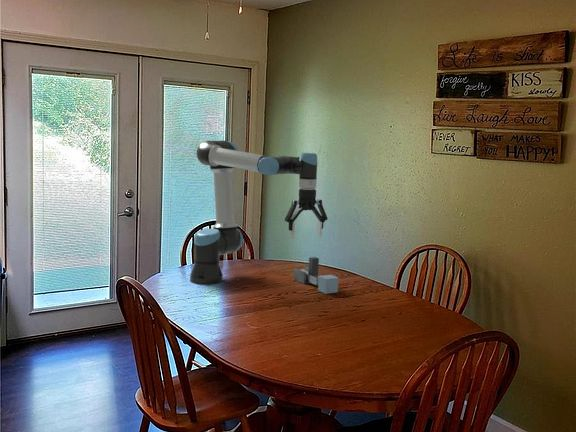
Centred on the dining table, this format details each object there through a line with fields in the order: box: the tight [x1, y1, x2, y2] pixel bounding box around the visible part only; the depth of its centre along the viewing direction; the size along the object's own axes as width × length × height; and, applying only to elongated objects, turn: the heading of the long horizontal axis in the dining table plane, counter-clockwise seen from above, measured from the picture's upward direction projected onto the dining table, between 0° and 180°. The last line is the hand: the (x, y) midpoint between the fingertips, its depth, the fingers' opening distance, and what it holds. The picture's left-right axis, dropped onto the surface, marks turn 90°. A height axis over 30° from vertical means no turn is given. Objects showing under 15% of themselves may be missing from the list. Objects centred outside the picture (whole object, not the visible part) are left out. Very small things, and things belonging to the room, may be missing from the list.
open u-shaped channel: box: [293, 266, 311, 285], centre depth 280 cm, size 9×7×5 cm
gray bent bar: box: [300, 256, 320, 286], centre depth 276 cm, size 16×3×11 cm, turn 30°
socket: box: [317, 274, 339, 295], centre depth 263 cm, size 6×7×7 cm
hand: (305, 237), depth 259 cm, fingers open, 13 cm apart
